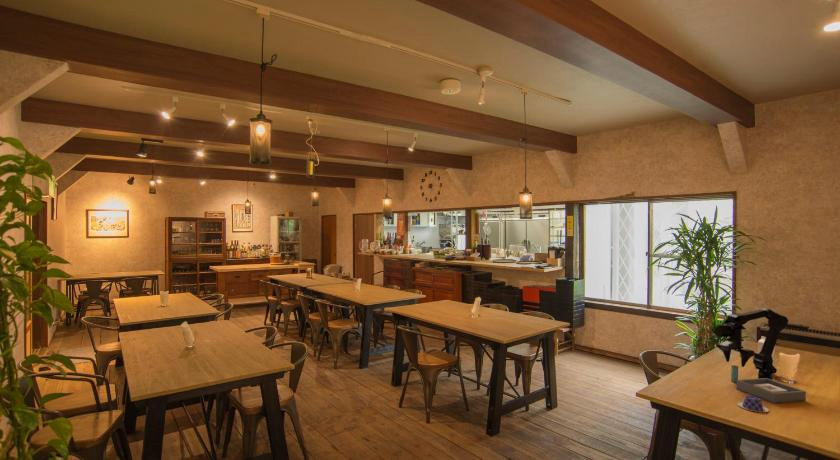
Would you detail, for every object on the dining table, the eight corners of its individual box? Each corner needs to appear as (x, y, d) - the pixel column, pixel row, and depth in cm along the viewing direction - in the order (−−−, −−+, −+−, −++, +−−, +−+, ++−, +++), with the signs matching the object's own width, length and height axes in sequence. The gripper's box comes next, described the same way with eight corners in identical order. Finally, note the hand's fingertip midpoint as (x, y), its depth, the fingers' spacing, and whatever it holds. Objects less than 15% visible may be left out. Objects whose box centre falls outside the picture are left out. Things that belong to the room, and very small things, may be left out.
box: (766, 387, 238) (766, 378, 238) (805, 401, 218) (805, 391, 218) (736, 389, 234) (736, 380, 234) (773, 404, 214) (773, 393, 214)
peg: (734, 380, 247) (734, 365, 247) (739, 382, 244) (739, 366, 244) (729, 381, 247) (729, 365, 247) (734, 383, 244) (735, 367, 244)
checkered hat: (759, 415, 201) (759, 404, 201) (731, 405, 212) (732, 394, 212) (774, 411, 206) (774, 400, 206) (746, 402, 217) (747, 391, 217)
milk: (767, 375, 257) (768, 338, 257) (757, 372, 263) (757, 336, 263) (774, 374, 259) (775, 338, 259) (764, 371, 265) (764, 335, 265)
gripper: (709, 333, 253) (709, 360, 253) (739, 341, 235) (738, 370, 235) (725, 332, 255) (724, 359, 255) (755, 340, 237) (755, 369, 237)
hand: (735, 364), depth 245 cm, fingers open, 9 cm apart
